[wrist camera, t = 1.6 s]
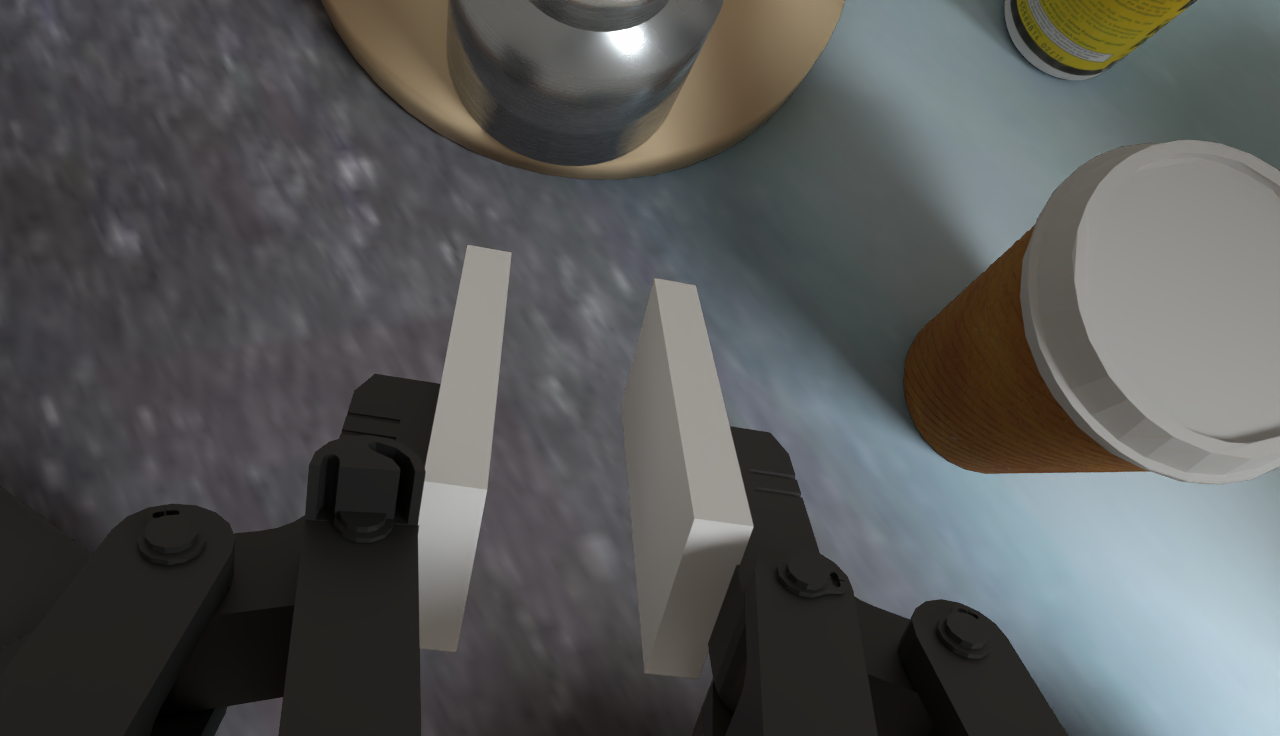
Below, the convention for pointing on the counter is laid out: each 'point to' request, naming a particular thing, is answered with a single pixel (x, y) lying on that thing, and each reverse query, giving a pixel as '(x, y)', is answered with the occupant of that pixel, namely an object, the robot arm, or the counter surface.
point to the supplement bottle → (1084, 31)
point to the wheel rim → (30, 572)
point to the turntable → (695, 127)
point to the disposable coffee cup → (1119, 327)
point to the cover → (574, 71)
